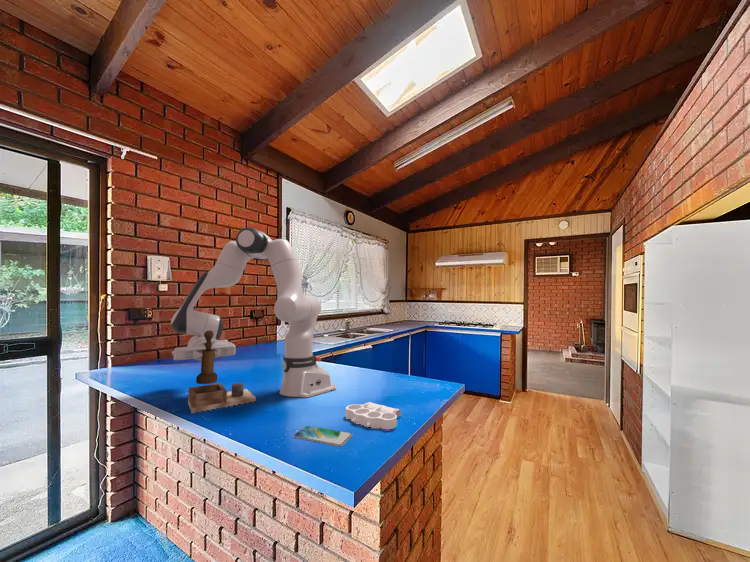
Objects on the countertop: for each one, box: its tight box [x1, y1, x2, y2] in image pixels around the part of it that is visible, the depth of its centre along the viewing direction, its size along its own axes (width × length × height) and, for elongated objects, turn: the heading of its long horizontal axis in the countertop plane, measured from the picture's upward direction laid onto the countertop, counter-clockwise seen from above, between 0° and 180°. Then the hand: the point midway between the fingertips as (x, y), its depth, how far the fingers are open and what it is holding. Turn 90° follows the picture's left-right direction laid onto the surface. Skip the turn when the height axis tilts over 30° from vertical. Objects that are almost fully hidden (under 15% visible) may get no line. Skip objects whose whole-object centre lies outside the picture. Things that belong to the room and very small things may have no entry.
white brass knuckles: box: [344, 401, 402, 430], centre depth 97 cm, size 3×18×15 cm
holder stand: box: [187, 382, 257, 414], centre depth 112 cm, size 20×13×6 cm, turn 126°
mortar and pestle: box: [195, 331, 218, 385], centre depth 110 cm, size 7×6×18 cm
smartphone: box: [292, 425, 353, 447], centre depth 85 cm, size 7×1×15 cm
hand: (208, 355), depth 109 cm, fingers closed on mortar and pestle, 4 cm apart
